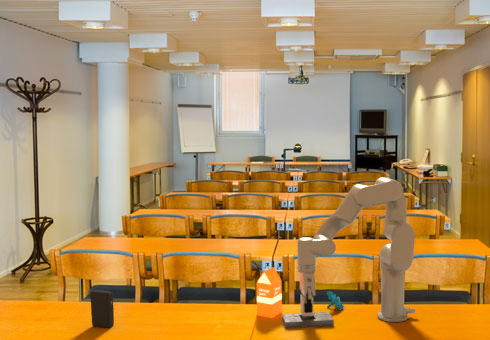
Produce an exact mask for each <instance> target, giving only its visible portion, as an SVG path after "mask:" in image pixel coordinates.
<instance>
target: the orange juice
mask: <svg viewBox="0 0 490 340" xmlns="http://www.w3.org/2000/svg"><path fill="white" fill-rule="evenodd" d="M282 290H283V289H282V279H281V277H280V275H279V273H278V272H277V271H276V268H275V267H274V266H273V267H270V268H268V269H266V270H264V271H263V272H262V274H261V275H260V277H259V278H258V279H257V282H256V315H257V316H259V315H260V317H265V318H270V319H272V318H275V317H276V316H278V315H279V314H281V313H283V304H282V303H283V301H282V299H283V293H282V292H283V291H282Z"/></svg>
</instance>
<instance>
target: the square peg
mask: <svg viewBox="0 0 490 340" xmlns="http://www.w3.org/2000/svg"><path fill="white" fill-rule="evenodd" d="M306 296H308V294H306ZM307 298H308V297H307ZM304 303H305V296H304V295H303V294H302V293H300V313H301V314H302V316H313V313H314V296H313V295H312V312H311V313H305V312H304Z"/></svg>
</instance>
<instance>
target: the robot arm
mask: <svg viewBox="0 0 490 340" xmlns="http://www.w3.org/2000/svg"><path fill="white" fill-rule="evenodd" d="M384 204H385V217H384V228H383V234H384V236H385V237H386V239H387V240H389V241H390V242H391V243H387V244H384V245H383V246H382V247H381V248H380V252H379V265H380V274H381V275H380V277H381V278H380V281H381V282H380V296H381V297H380V302H381V303H380V311H378V312H377V318H378V319H380V320H381V321H384V322H389V323H399V322H400V323H401V322H405V321H407V320H408V319H409V317H408V316H409V314H416V308H414V307H413V308H411V306H410V307H408V306H407V307H406V306H405V272H406V271H409V269H410V268H411V267H412V265H413V262H414V254H415V253H414V251H415V242H416V241H415V239H416V237H415V236H416V234H415V231H414V228H413V227H412V225H410V224H409V223H407V211H408V210H407V199H406V197H405V195H404V188H403V185H402V184H401V182H399V181H398V180H396V179H393V178H389V177H387V176H385V177H384V176H382V177H379V178H377V179H376V180H375V182H374V184H371V185H366V184H362V183H357V184H355V185H353V186H352V187H351V188H350V190H349V191H348V192H347V194H346V195H345V197H344V198H343V200H342V201H341V203H340V204H339V206H338V207H337V208H336V210H335V211H334V212H333V213H332V214H331V215H330V216H329V217H328V218H327V219H326V220H325V221H324V222H323V223H322V225H321V226H320V227H319V229H318V230H317V231H316V233H315V235H314V236H313V237H310V236H309V237H307V236H303V237H300V238H298V240H297V272H298V273H299V291H300V292H301V294H303V295H304V296H305V303H304V312H305V313H311V312H312V296H313V297H315V296H316V279H315V277H316V276H315V273H316V272H317V263H316V262H317V256H318V257H330V256H332V255H334V253H336V249H337V246H336V242H335V241H334V240H333V239H334V238H335V237H336V235H338V232H340V231H341V230H343V229H345V228H346V227H349V226H351V225H352V224H353V223H354V222H355V220H357V217H358V216H359V215H360V213H361V211H362V210H363V209H364V208H371V207H375V206H376V207H377V206H380V205H384ZM306 294H308V296H306ZM307 297H308V298H307Z"/></svg>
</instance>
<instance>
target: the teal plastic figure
mask: <svg viewBox="0 0 490 340" xmlns="http://www.w3.org/2000/svg"><path fill="white" fill-rule="evenodd" d="M326 296H327V298H328V300H329V301H330V303H329V304H328V305H327V306H326V308H328V309H330V307H332V306H334V307H335V308H336V309H338V310H339V311H341V310H342V311H343V310H344V309H345V306H344V304H343V302H342V301H341V298H340V296H337V294H336V293H334V292H333V291H327V292H326Z"/></svg>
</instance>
